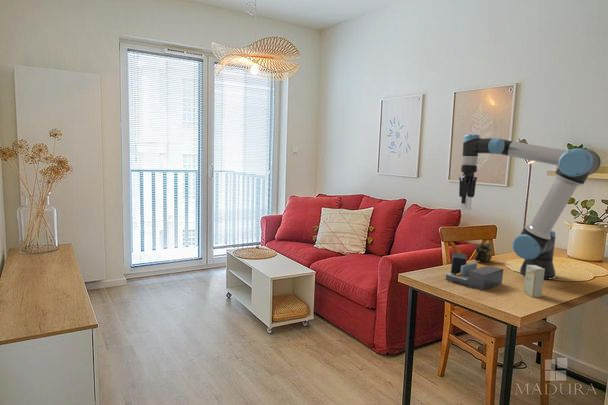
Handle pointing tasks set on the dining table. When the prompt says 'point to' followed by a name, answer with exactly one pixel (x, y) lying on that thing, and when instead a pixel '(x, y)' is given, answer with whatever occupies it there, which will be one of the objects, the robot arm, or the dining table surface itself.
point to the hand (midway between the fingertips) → (465, 209)
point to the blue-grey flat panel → (467, 269)
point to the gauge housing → (479, 278)
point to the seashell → (484, 252)
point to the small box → (457, 262)
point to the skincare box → (534, 280)
